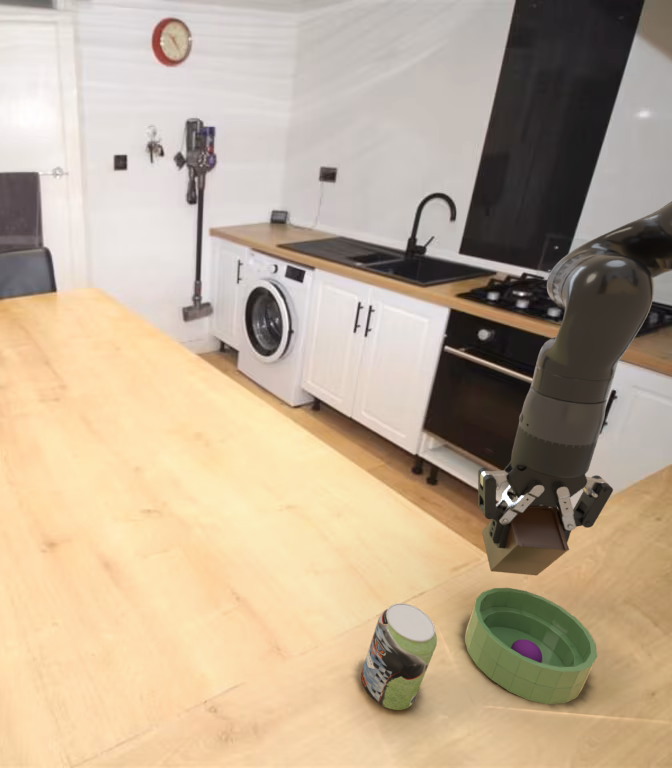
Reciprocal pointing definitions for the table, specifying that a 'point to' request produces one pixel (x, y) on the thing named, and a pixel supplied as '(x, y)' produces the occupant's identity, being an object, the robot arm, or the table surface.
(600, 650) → the table surface
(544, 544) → the ball stand
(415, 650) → the beverage can
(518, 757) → the table surface
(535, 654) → the ball
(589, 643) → the bowl
